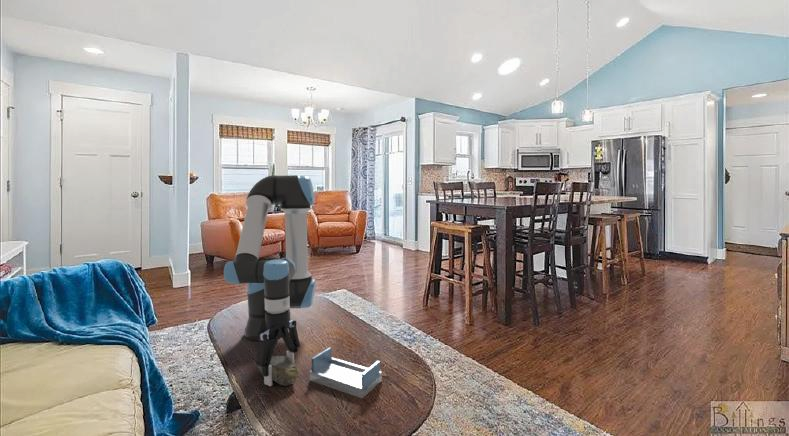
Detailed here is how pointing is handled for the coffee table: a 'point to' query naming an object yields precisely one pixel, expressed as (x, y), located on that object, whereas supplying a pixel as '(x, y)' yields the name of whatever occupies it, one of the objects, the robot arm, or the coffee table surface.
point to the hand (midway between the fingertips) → (279, 377)
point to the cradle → (344, 374)
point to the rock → (282, 370)
